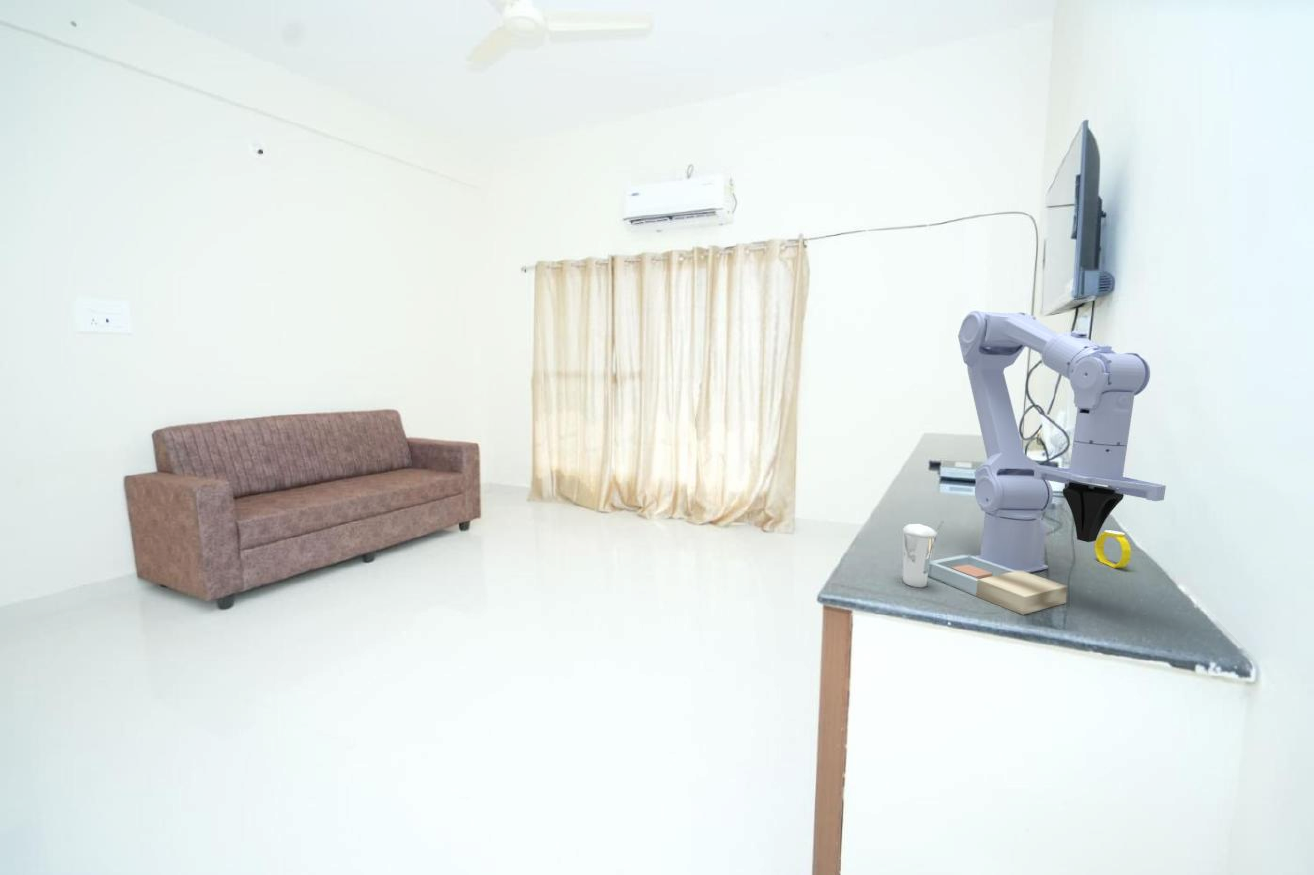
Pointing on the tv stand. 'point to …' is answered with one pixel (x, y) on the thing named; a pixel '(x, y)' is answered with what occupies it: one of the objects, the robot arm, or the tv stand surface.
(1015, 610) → the beige wooden block
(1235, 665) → the tv stand surface
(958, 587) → the box
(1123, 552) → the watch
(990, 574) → the tile
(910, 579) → the milkshake
